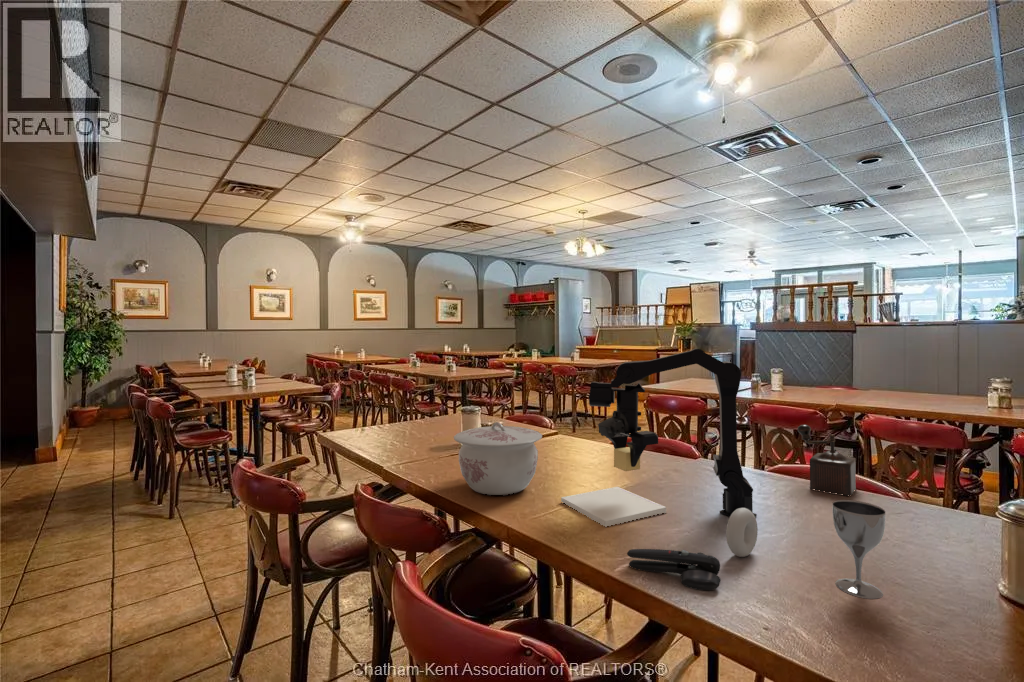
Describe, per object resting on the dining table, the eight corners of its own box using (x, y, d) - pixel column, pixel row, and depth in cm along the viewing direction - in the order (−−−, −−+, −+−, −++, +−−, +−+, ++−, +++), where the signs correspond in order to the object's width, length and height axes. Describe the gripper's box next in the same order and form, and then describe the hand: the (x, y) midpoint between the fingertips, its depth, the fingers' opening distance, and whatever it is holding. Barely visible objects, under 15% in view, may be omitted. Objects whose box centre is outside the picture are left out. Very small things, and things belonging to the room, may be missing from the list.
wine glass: (863, 577, 93) (862, 499, 93) (897, 599, 85) (897, 514, 85) (822, 578, 93) (822, 500, 93) (853, 601, 85) (853, 515, 85)
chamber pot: (528, 508, 132) (527, 433, 132) (438, 499, 141) (437, 428, 141) (553, 479, 159) (552, 416, 158) (476, 472, 168) (475, 413, 167)
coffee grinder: (857, 488, 146) (857, 428, 146) (850, 497, 138) (850, 434, 138) (799, 478, 157) (798, 422, 156) (789, 486, 149) (789, 427, 148)
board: (666, 512, 128) (666, 507, 128) (605, 527, 119) (605, 521, 119) (617, 491, 146) (617, 486, 146) (561, 502, 137) (561, 497, 137)
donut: (744, 546, 107) (744, 501, 107) (760, 551, 105) (760, 505, 105) (723, 560, 101) (722, 512, 101) (740, 565, 98) (739, 516, 98)
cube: (640, 469, 132) (640, 450, 132) (625, 471, 130) (625, 452, 130) (628, 464, 137) (628, 447, 137) (613, 466, 134) (614, 448, 134)
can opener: (724, 580, 93) (723, 551, 93) (718, 597, 87) (718, 566, 87) (633, 559, 102) (632, 532, 102) (622, 573, 96) (622, 545, 96)
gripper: (583, 404, 138) (583, 459, 138) (626, 415, 121) (625, 477, 121) (614, 402, 143) (614, 455, 143) (660, 412, 126) (659, 471, 126)
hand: (626, 464), depth 133 cm, fingers closed on cube, 5 cm apart
